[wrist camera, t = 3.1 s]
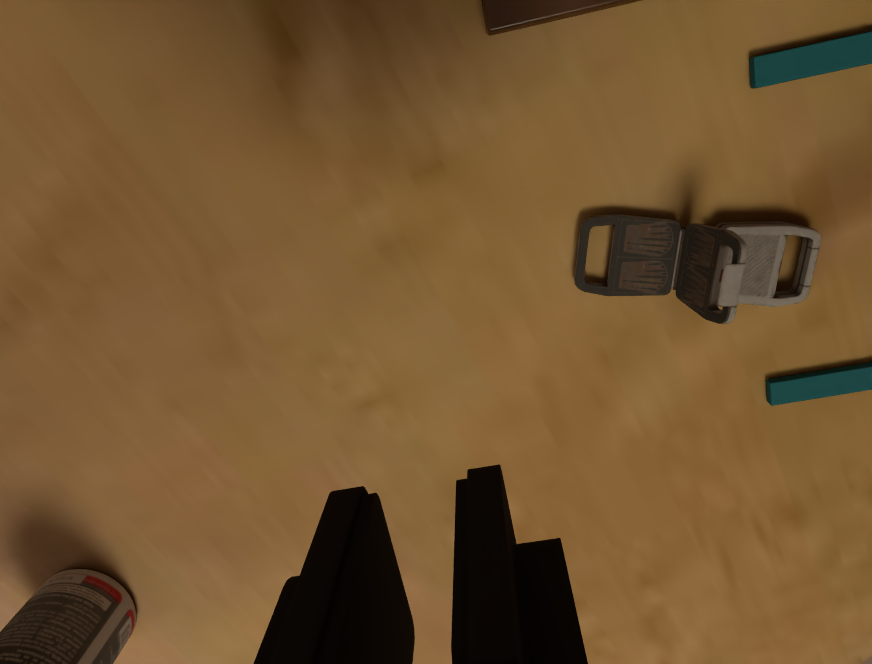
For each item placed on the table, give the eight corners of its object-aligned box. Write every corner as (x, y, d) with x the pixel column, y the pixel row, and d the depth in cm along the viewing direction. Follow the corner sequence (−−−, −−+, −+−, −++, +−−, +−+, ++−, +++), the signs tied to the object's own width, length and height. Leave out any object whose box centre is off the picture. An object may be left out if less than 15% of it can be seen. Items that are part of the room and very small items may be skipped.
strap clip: (815, 221, 23) (887, 243, 19) (797, 302, 24) (862, 338, 20) (579, 211, 24) (602, 230, 20) (571, 291, 25) (591, 325, 21)
